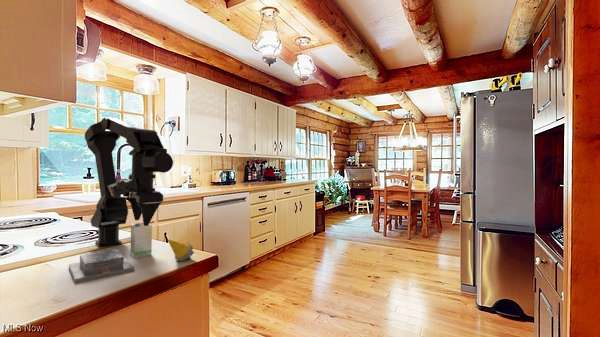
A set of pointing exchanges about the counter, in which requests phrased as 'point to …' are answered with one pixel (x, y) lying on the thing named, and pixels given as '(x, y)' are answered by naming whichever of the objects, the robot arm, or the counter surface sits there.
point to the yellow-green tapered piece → (181, 250)
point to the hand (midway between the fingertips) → (141, 222)
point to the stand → (99, 266)
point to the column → (141, 240)
